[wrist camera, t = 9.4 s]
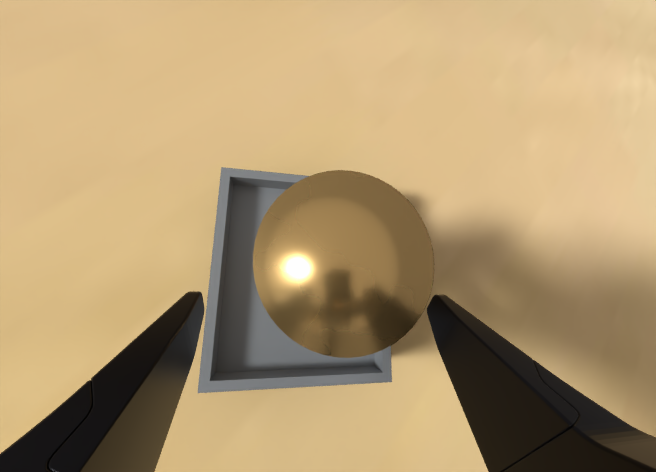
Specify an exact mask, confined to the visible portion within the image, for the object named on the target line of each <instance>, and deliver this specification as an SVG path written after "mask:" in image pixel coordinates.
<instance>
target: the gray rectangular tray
mask: <svg viewBox="0 0 656 472" xmlns="http://www.w3.org/2000/svg"><path fill="white" fill-rule="evenodd" d="M306 177H309V176H303V175H293V174H283V173H273V172H263V171H253V170H243V169H233V168H223V167H221V177H220V186H219V196H218V205H217V215H216V224H215V233H214V243H213V252H212V262H211V271H210V281H209V290H208V300H207V309H206V318H205V328H204V337H203V347H202V356H201V366H200V375H199V384H198V393H207V392H224V391H242V390H259V389H277V388H295V387H312V386H330V385H347V384H365V383H383V382H392V373H391V346H389V347H387V348H386V349H383V350H381V351H379V352H376V353H374V354H370V355H366V356H362V357H353V358H338V357H332V356H326V355H322V354H319V353H316V352H313V351H311V350H309V349H307V348H305V347H303V346H301V345H299V344H298V343H296V342H295V341H293V340H292V339H291V338H289V337H288V336H287V335H286V334H285V333H284V332H283V331H282V330H281V329H279V327H278V326H277V325H276V324H275V322H274V321H273V320H272V319H271V318H270V316H269V314H268V313H267V311H266V309H265V308H264V306H263V304H262V301H261V299H260V297H259V294H258V291H257V287H256V284H255V279H254V272H253V251H254V244H255V239H256V235H257V232H258V229H259V226H260V224H261V222H262V220H263V217H264V216H265V214H266V212H267V211H268V209H269V208H270V206H271V205H272V204H273V203H274V201H275V200H276V199H277V198H278V197H279V196H280V195H281V194H282V193H283V192H284V191H285V190H286V189H288V188H289V187H291V186H292V185H293V184H295V183H296V182H298V181H300V180H302V179H304V178H306Z"/></svg>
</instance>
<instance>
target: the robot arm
mask: <svg viewBox="0 0 656 472" xmlns="http://www.w3.org/2000/svg"><path fill="white" fill-rule="evenodd" d="M203 315H204V303H203V297H202V293H201V292H188V293H186V294H185V295H184V296H183V297H182V298H180V299H179V300H178V301H177V302H176V303H175V304H174V305H173V306H172V307H170V308H169V309H168V310H167V311H166V312H165V313H164V314H163V315H161V316H160V317H159V318H158V319H157V320H156V321H155V322H154V323H153V324H151V325H150V326H149V327H148V328H147V329H146V330H145V331H144V332H142V333H141V334H140V335H139V336H138V337H137V338H136V339H135V340H133V341H132V342H131V343H130V344H129V345H128V346H127V347H126V348H125V349H123V350H122V351H121V352H120V353H119V354H118V355H117V356H116V357H114V358H113V359H112V360H111V361H110V362H109V363H108V364H107V365H106V366H104V367H103V368H102V369H101V370H100V371H99V372H98V373H97V374H95V375H94V376H93V377H92V378H91V380H89V381H87V382H86V383H85V384H84V385H83V386H82V387H81V388H80V389H79V390H77V391H76V392H75V393H74V394H73V395H72V396H71V397H69V398H68V399H67V400H66V401H65V402H64V403H62V404H61V405H60V406H59V407H58V408H57V409H55V410H54V411H53V412H52V413H51V414H50V415H48V416H47V417H46V418H45V419H43V420H42V421H41V422H40V423H38V424H37V425H36V426H35V427H33V428H32V429H31V430H30V431H29V432H27V433H26V434H25V435H24V436H22V437H21V438H20V439H18V440H17V441H16V442H15V443H13V444H12V445H11V446H10V447H8V448H7V449H6V450H4V451H3V452H2V453H1V454H0V472H154V471H155V468H156V465H157V463H158V460H159V457H160V454H161V451H162V448H163V445H164V442H165V440H166V437H167V434H168V431H169V428H170V425H171V422H172V419H173V417H174V414H175V411H176V408H177V405H178V402H179V399H180V396H181V394H182V391H183V388H184V385H185V382H186V379H187V376H188V373H189V371H190V368H191V365H192V362H193V359H194V355H195V351H196V347H197V342H198V338H199V333H200V329H201V324H202V320H203ZM427 315H428V318H429V321H430V324H431V328H432V331H433V334H434V338H435V341H436V344H437V347H438V350H439V352H440V355H441V357H442V360H443V362H444V365H445V367H446V370H447V372H448V374H449V377H450V379H451V382H452V384H453V386H454V389H455V391H456V394H457V396H458V399H459V401H460V403H461V406H462V408H463V411H464V413H465V416H466V418H467V420H468V423H469V425H470V428H471V430H472V433H473V435H474V437H475V440H476V442H477V445H478V447H479V449H480V452H481V454H482V457H483V459H484V462H485V464H486V466H487V469H488V471H489V472H656V437H653V436H651V435H648V434H646V433H644V432H642V431H640V430H638V429H636V428H634V427H632V426H630V425H629V424H627V423H626V422H624V421H622V420H621V419H619V418H618V417H616V416H615V415H613V414H612V413H610V412H609V411H607V410H606V409H604V408H603V407H601V406H600V405H598V404H597V403H595V402H594V401H592V400H591V399H589V398H588V397H586V396H585V395H583V394H582V393H580V392H579V391H577V390H576V389H574V388H573V387H571V386H570V385H568V384H567V383H565V382H564V381H562V380H561V379H559V378H558V377H557V376H555V375H554V374H552V373H551V372H550V371H548V370H547V369H545V368H544V367H543V366H541V365H540V364H539V363H537V362H536V361H534V360H532V358H530V357H529V356H528V355H526V354H525V353H524V352H522V351H521V350H519V349H518V348H517V347H515V346H514V345H513V344H511V343H510V342H509V341H507V340H506V339H504V338H503V337H502V336H500V335H499V334H498V333H496V332H495V331H494V330H492V329H491V328H489V327H488V326H487V325H485V324H484V323H483V322H481V321H480V320H479V319H477V318H476V317H474V316H473V315H472V314H470V313H469V312H468V311H466V310H465V309H464V308H462V307H461V306H459V305H458V304H457V303H455V302H454V301H453V300H451V299H450V298H448V297H447V296H446V295H434V296H433V298H432V300H431V302H430V304H429V305H428V308H427Z"/></svg>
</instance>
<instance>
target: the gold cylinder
mask: <svg viewBox="0 0 656 472" xmlns="http://www.w3.org/2000/svg"><path fill="white" fill-rule="evenodd" d="M253 272H254V279H255V284H256V287H257V291H258V294H259V297H260V299H261V301H262V304H263V306H264V308H265V309H266V311H267V313H268V314H269V316H270V318H271V319H272V320H273V321H274V322H275V324H276V325H277V326H278V327H279V329H281V330H282V331H283V332H284V333H285V334H286V335H287V336H288V337H289V338H291V339H292V340H293V341H295V342H296V343H298V344H299V345H301V346H303V347H305V348H307V349H309V350H311V351H313V352H316V353H319V354H322V355H326V356H332V357H338V358H353V357H362V356H366V355H370V354H374V353H376V352H379V351H381V350H383V349H386V348H387V347H389V346H391V345H392V344H394V343H396V342H397V341H398V340H399V339H401V338H402V337H403V336H404V335H406V333H407V332H408V331H409V330H410V329H411V328H412V327H413V326H414V325H415V323H416V322H417V320H418V319H419V318H420V316H421V314H422V312H423V310H424V309H425V307H426V304H427V302H428V299H429V296H430V293H431V289H432V285H433V277H434V257H433V249H432V245H431V241H430V237H429V235H428V232H427V229H426V227H425V225H424V223H423V221H422V219H421V217H420V216H419V214H418V213H417V211H416V209H415V208H414V207H413V206H412V205H411V203H410V202H409V201H408V200H407V199H406V198H405V197H404V196H403V195H402V194H401V193H400V192H399V191H397V190H396V189H395V188H393V187H392V186H391V185H389V184H387V183H385V182H384V181H382V180H380V179H378V178H375V177H373V176H370V175H367V174H364V173H360V172H354V171H343V170H337V171H327V172H322V173H318V174H314V175H312V176H309V177H306V178H304V179H302V180H300V181H298V182H296V183H295V184H293V185H292V186H291V187H289V188H288V189H286V190H285V191H284V192H283V193H282V194H281V195H280V196H279V197H278V198H277V199H276V200H275V201H274V203H273V204H272V205H271V206H270V208H269V209H268V211H267V212H266V214H265V216H264V217H263V220H262V222H261V224H260V226H259V229H258V232H257V235H256V239H255V244H254V251H253Z"/></svg>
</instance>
